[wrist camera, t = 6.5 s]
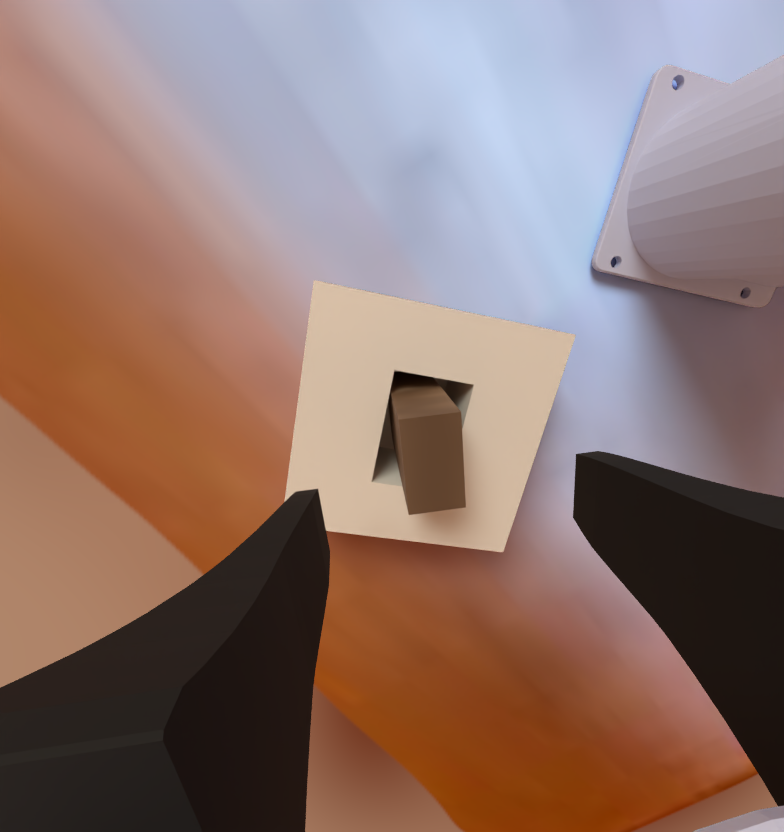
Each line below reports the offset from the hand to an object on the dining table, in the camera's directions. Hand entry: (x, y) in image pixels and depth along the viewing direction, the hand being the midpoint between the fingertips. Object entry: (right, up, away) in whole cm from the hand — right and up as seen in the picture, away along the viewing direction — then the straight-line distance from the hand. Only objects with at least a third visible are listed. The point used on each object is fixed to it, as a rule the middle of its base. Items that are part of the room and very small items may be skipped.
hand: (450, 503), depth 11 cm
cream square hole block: (-1, +3, +9) cm, 10 cm away
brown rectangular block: (-1, +3, +9) cm, 9 cm away
